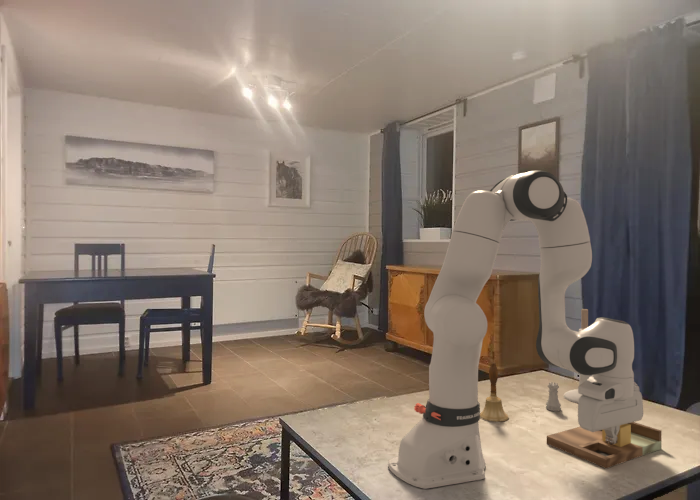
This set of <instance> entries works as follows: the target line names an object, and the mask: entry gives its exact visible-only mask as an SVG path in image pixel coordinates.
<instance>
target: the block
mask: <svg viewBox="0 0 700 500" xmlns="http://www.w3.org/2000/svg"><path fill="white" fill-rule="evenodd" d="M605 436H606V433H605V431H604V430H602V441H604V442H605V440H606V438H605ZM617 437H618V439H617V443H616V444H613V445H616V446H619V447H622V446H625V445H627V444H630V443H631V425H630V424H623V425H620V430H619V432H618V435H617Z"/></svg>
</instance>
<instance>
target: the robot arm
mask: <svg viewBox="0 0 700 500" xmlns="http://www.w3.org/2000/svg"><path fill="white" fill-rule="evenodd" d="M586 219H587V218H586V217H585V213H584V211H583V209H582V205H581V204H580V202H578V200H577V199H574V198H571V197H568V195H567V194H566V192H565V191H564V187H563V185H562V183H561V182H560V180H559V179H558V178H557V177H556V176H555V174H553V173H551V172H548V171H546V170H540V169H539V170H538V169H536V170H529V171H527V172H519V173H515V174H512V175H509V176H508V177H506V178H503V179H501V180H499V181H498V182H497V183H496V184H495V185H494V186H493V187H492V188H491V189H490V190H483V189H482V190H476V191H472V192H471V193H469V194H468V195H467V196H466V198H465V200H464V201H463V203H462V206H461V208H460V210H459V212H458V215H457V217H456V220H455V223H454V225H453V229H452V232H451V235H450V239H449V243H448V246H447V249H446V253H445V256H444V259H443V263H442V266H441V269H440V271H439V273H438V274H437V278H436V280H435V282H434V285H433V286H432V289H431V292H430V295H429V298H428V300H427V302H426V304H425V306H424V311H423V312H424V314H423V315H424V322H425V324H426V326H427V327H428V329H429V330H430V331H431V332H432V334H433V342H432V351H431V352H432V353H431V359H430V363H429V366H428V367H429V368H428V380H429V381H428V389H429V391H428V392H429V393H428V395H429V396H428V399H427V401H426V404H425V405H423V404H421V403H419V402H417V403H415V406H414V408H413V409H414V411H415V412H416V413H419V414H420V415H422V418H421V419H420V420H419V421H418V422H417V423H416V425H414V426H413V427H412V428H411V429H410V430H409V431H408V432H407V433H406V434H405V435H404V436H403V437H402V438H401V439H400V443H399V447H398V455H397V456H395V457H392V458H390V459H389V460H388V464H387V465H388V466H387V467H388V469H389V470H390V472H391V473H392V474H393V475H395V476H396V477H397V478H398V479H400V480H402V481H403V482H405V483H407V484H409V485H411V486H413V487H417V488H421V489H424V490H425V489H432V488H437V487H438V488H440V487H444V486H450V485H456V484H462V483H468V482H474V481H480V480H483V479H485V478H486V473H485V469H486V465H487V464H486V462H485V458H484V457H485V456H484V454H483V449H482V442H481V435H480V427H479V426H480V425H479V421H480V419H481V418H480V413H481V405H480V402H479V393H478V392H479V388H478V387H479V366H480V364H479V363H480V359H481V353H482V348H483V341H484V338H485V337H486V334H487V332H488V319H487V316H486V314H485V312H484V311H483V309H482V308H481V306H480V305H479V304H478V303H477V302H478V301H477V300H478V298H479V296H480V295H481V293H482V291H483V289H484V286H485V285H486V283H487V282H488V280H490V278H491V276H492V272H493V269H494V266H495V262H496V259H497V255H498V251H499V248H500V244H501V241H502V237H503V232H504V230H505V228H506V226H507V224H508V223H509V222H513V221H521V222H524V221H526V222H527V221H530V222H531V223H532V224H533V226H534V227H535V230H536V232H537V237H538V247H539V254H540V269H539V270H540V271H539V274H538V279H537V293H538V295H537V296H538V297H537V299H538V315H539V316H538V317H539V319H538V320H539V323H538V332H537V336H536V341H535V343H536V344H535V346H536V353H537V355H538V357H539V359H540V360H542V361H543V362H544V363H545V364H547V365H550V366H554V367H558V368H561V369H565V370H567V371H569V372H573V373H576V374H578V375H580V374H581V375H590V377H589V378H588V379H587V380H586V381H585V382H583V383H582V384H580V385H579V384H578V387H577V389H578V393H579V394H581V395H582V396H581V397H580V398H579V402H578V403H577V423H578V425H579V427H581V428H582V429H585V430H588V431H591V432H596V431H600V430H604V431H605V433H606V436H605V438H606V440H605V442H606V443H607V444H610V445H613V444H616V443H617V439H618V437H617V435H618V432H619V430H620V425H623V424H627V423H631V422H635V423H636V422H638V421H642V419H643V417H644V399H643V395H642V392H640V386H638V384H637V383H636V382H635V379H634V378H635V373H634V370H633V362H634V359H635V339H634V332H633V329H632V326H631V325H630V324H629V323H628V322H626V321H624V320H618V319H613V318H609V317H603V316H602V317H600V316H599V317H597V318H596V319H595V321H594V322H593V323H591V324H590V325H588V327H587V328H585V329H583V330H578V331H577V330H573V329H571V328H570V327H568V325H567V322H566V298H565V296H566V291H567V289H568V287H569V286H570V285H572V284H573V283H576V282H577V281H579V280H581V279H582V278H583V277H585V276H586V274H587V273H588V272H589V270H590V269H591V267H592V261H593V251H592V245H591V236H590V233H589V232H590V231H589V228H588V224H587V220H586Z"/></svg>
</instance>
